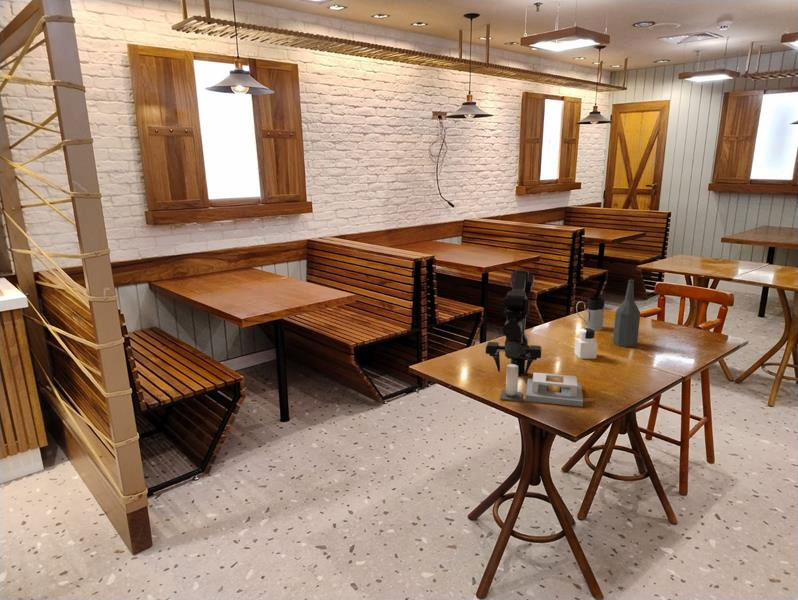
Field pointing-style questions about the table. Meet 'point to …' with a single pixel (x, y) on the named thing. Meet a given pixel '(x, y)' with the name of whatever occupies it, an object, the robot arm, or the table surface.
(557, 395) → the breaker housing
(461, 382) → the table surface
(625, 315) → the bottle
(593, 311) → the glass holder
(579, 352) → the medicine bottle
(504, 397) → the pad
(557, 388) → the button
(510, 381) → the white cylinder
